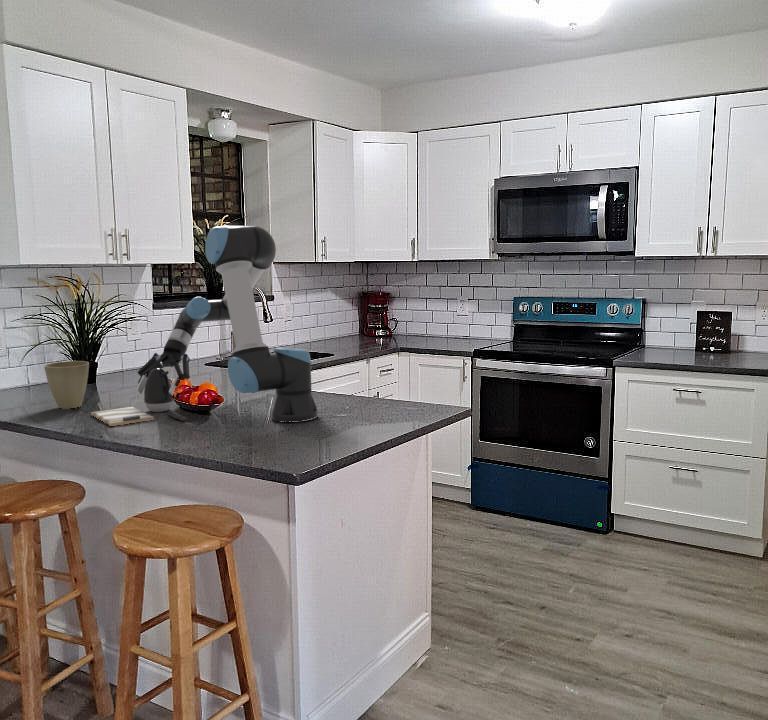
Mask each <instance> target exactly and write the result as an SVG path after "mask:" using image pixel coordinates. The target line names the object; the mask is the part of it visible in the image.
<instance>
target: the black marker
mask: <svg viewBox="0 0 768 720" xmlns="http://www.w3.org/2000/svg"><path fill="white" fill-rule="evenodd" d="M167 415H168V416H169V417H172V418H174V419H177V420H178V421H181V422H183V421H184V422H186V421H187V417H186V416H184V415H182V414H179V413H177V412H174V411H172V410H168V412H167Z"/></svg>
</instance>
